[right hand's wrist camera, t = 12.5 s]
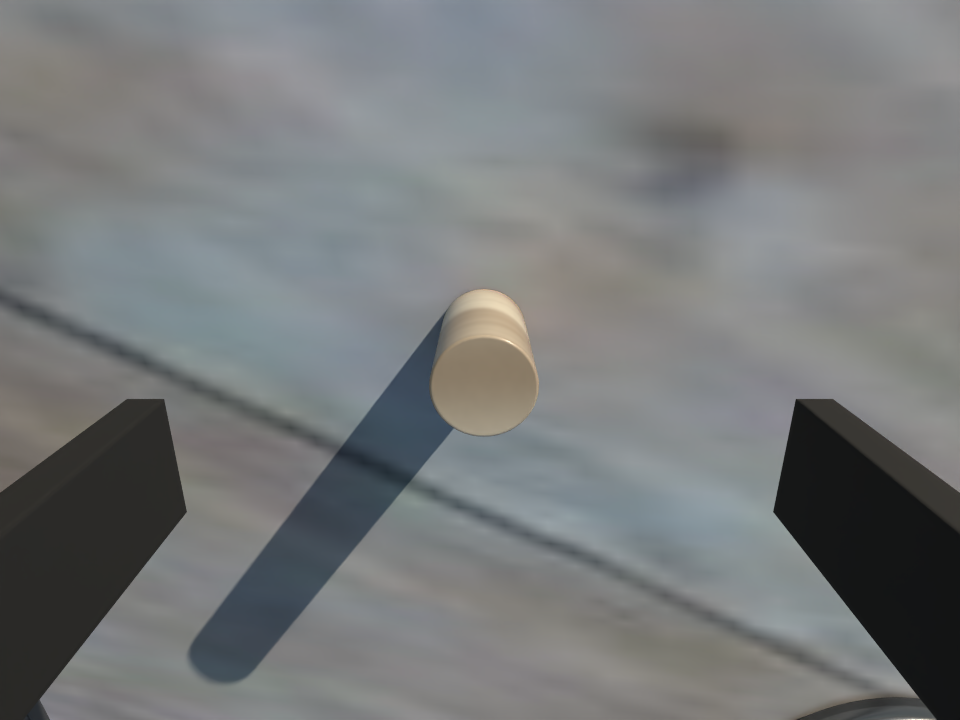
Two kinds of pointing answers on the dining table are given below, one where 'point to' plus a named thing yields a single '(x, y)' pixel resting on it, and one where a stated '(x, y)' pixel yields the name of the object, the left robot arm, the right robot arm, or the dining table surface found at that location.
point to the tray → (37, 713)
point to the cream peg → (483, 365)
